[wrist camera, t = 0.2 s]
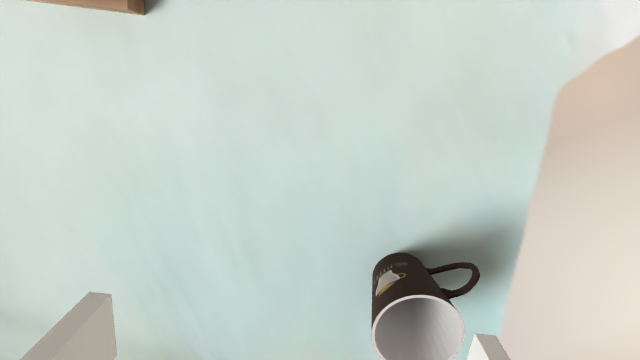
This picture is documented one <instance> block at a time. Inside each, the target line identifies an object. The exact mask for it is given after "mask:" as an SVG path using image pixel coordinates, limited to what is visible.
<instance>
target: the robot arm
mask: <svg viewBox="0 0 640 360" xmlns="http://www.w3.org/2000/svg"><path fill="white" fill-rule="evenodd" d="M116 355H117V351H116V340H115V330H114V319H113V308H112V297H111V294H104V293H95V292H89V293H88V294H87V295H86V296H85V297H84V298H83V299H82V300H81V301H80V302H79V303H78V304H77V305H76V306H75V307H74V308H73V309H72V310H70V311H69V312H68V313H67V314H66V315H65V316H64V317H63V318H62V319H61V320H60V321H59V322H58V323H57V324H56V325H55V326H54V327H53V328H52V329H51V330H50V331H49V332H48V333H47V334H46V335H45V336H44V337H43V338H42V339H41V340H40V341H39V342H38V343H37V344H36V345H35V346H34V347H33V348H32V349H31V350H29V351H28V352H27V353H26V354H25V355H24V356H23V357H22V358H21V359H20V360H113V359H114V358H115V357H116ZM467 360H510V358H509V356H508V355H507V353H506V351H505V350H504V349H503V347H502V345H501V344H500V342H499V340H498V339H497V337H496V336H493V335H484V334H475V335H474V338H473V341H472V344H471V348H470V351H469V354H468V357H467Z"/></svg>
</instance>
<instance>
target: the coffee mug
mask: <svg viewBox="0 0 640 360" xmlns="http://www.w3.org/2000/svg"><path fill="white" fill-rule="evenodd" d="M457 268H468V269H471V270H472V272H473V273H472V277H471V279H470V281H469V282H468V283H467V284H466V285H465V286H463V287H462V288H460V289H457V290H453V291H451V290H447V289H444V288H440V287H439V286H438V284H437V283H436V282H435V280H434V279H433V278H432V276H431V275H433V274H436V273H440V272H444V271H448V270H453V269H457ZM479 278H480V274H479V270H478V268H477V267H476V266H475V265H474V264H472V263H464V262H463V263H453V264H449V265H445V266H441V267H437V268H433V269H427V268H425V267H424V266H423V264H422V263H421V262H420V261H419V260H418V259H417V258H416V257H414V256H412V255H409V254H406V253H395V254H391V255H388V256H386V257H384V258H383V259H381V260H380V261H379V262H378V264H377V265H376V266H375V269H374V271H373V284H372V343H373V346H374V348H375V350H376V352H377V354H378V355H379V356H380V357H381V359H382V360H451V359H453V357H454V356H455V355H456V354H457V353H458V352H459V350H460V348H461V346H462V344H463V341H464V337H465V327H464V322H463V320H462V318H461V315H460V314H459V313H458V311H457V310H456V309H455V307H454V306H453V305H452V303H451V302H450V301H449V299H451V298H454V297H458V296H461V295H464V294H466V293H467V292H469V291H470V290H471V289H472V288H473V287H474V286H475V285H476V283H477V282H478V280H479Z"/></svg>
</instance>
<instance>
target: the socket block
mask: <svg viewBox="0 0 640 360" xmlns="http://www.w3.org/2000/svg"><path fill="white" fill-rule="evenodd" d="M28 1H36V2H44V3H52V4H60V5H67V6H75V7H83V8H91V9H99V10H107V11H115V12H123V13H130V14H138V15H145V13H144V0H28Z"/></svg>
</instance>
